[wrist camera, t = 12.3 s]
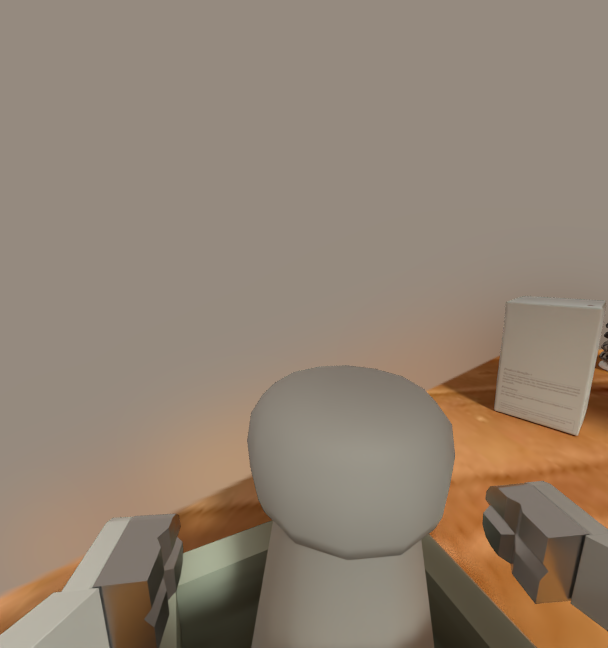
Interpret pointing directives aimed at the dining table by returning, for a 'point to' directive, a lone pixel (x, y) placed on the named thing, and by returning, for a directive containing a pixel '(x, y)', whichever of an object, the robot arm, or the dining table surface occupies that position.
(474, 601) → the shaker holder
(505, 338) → the supplement box
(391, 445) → the salt shaker
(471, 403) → the dining table surface
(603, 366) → the decorative candle
